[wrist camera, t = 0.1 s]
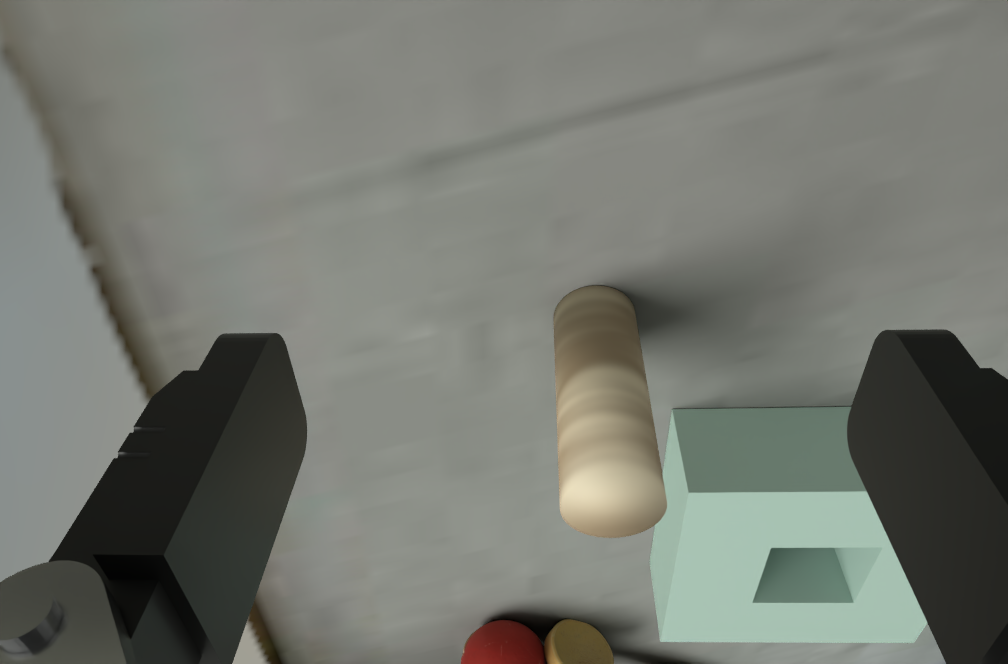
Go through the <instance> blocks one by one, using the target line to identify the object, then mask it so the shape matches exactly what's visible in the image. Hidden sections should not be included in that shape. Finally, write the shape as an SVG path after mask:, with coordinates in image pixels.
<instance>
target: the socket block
mask: <svg viewBox="0 0 1008 664" xmlns="http://www.w3.org/2000/svg"><path fill="white" fill-rule="evenodd" d="M850 410H851V407H799V408H728V409H672V413H671V420H670V427H669V434H668V441H667V448H666V454H665V461H664V468H663V481H664V487H665V493H666V499H667V509H666V512H665V514H664V516H663V517H662V519H661V520H660V521H659V522H658V523H657V524H655V530H654V537H653V543H652V550H651V557H650V569H651V577H652V584H653V591H654V599H655V606H656V613H657V621H658V628H659V635H660V642H814V643H914V642H915V640H916V639H917V637H918V636H919V634H920V633H921V631H922V630H923V629H924V627H925V626H926V624H927V621H926V618H925V616H924V614H923V612H922V610H921V608H920V605H919V603H918V601H917V599H916V597H915V595H914V593H913V590H912V588H911V586H910V584H909V582H908V580H907V577H906V575H905V573H904V571H903V569H902V567H901V564H900V562H899V560H898V558H897V556H896V554H895V552H894V549H893V547H892V545H891V543H890V541H889V539H888V536H887V534H886V532H885V530H884V528H883V526H882V523H881V521H880V519H879V517H878V515H877V513H876V511H875V508H874V506H873V504H872V502H871V500H870V498H869V495H868V493H867V491H866V489H865V487H864V485H863V482H862V480H861V478H860V476H859V474H858V472H857V469H856V467H855V465H854V463H853V461H852V458H851V455H850V452H849V447H848V441H847V422H848V416H849V413H850Z"/></svg>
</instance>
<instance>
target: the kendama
mask: <svg viewBox="0 0 1008 664" xmlns="http://www.w3.org/2000/svg"><path fill="white" fill-rule="evenodd" d="M461 664H614V658H613V654H612V651H611V648H610V646H609V644H608V643H607V641H606V639H605V638H604V637H603V635H602V634H601V633H600V632H599V631H598V630H596V629H595V628H594V627H593V626H591V625H589V624H587V623H584V622H579V621H576V620H572V619H564V620H562V621H560V622H559V623H557V624H556V625H555V626H554V628H553V629H552V630H551V631H550V632H549V633H548V635H547V637H546V639H545V643H544V646H543V644H542V642H541V641H540V639H539V638H538V637H537V635H536V634H535V633H534V632H533V631H532V630H531V629H529V628H528V627H526V626H525V625H523V624H521V623H518V622H515V621H510V620H498V621H493V622H490V623H488V624H485V625H483V626H482V627H480V628H479V629H478V630H476V631H475V632H474V633H472V634H471V636H470V637H469V638H468V640H467V641H466V643H465V646H464V648H463V655H462V658H461Z"/></svg>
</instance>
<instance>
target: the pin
mask: <svg viewBox="0 0 1008 664" xmlns="http://www.w3.org/2000/svg"><path fill="white" fill-rule="evenodd" d="M554 347H555V376H556V406H557V435H558V465H559V494H560V512H561V515H562V517H563V519H564V520H565V522H566V523H567V524H568V525H570V526H571V527H572V528H574V529H575V530H577V531H579V532H582V533H584V534H587V535H591V536H596V537H604V538H617V537H625V536H631V535H634V534H638V533H640V532H643V531H645V530H647V529H649V528H651V527H653V526H654V525H655V524H657V523H658V522H659V521H660V520H661V519H662V517H663V516H664V514H665V512H666V509H667V499H666V493H665V487H664V481H663V475H662V469H661V463H660V457H659V451H658V445H657V439H656V433H655V427H654V422H653V416H652V410H651V404H650V398H649V392H648V386H647V380H646V374H645V368H644V362H643V356H642V350H641V344H640V338H639V332H638V327H637V321H636V315H635V309H634V306H633V304H632V302H631V301H630V299H629V298H628V297H627V296H626V295H625V294H623V293H622V292H620V291H618V290H616V289H614V288H611V287H607V286H587V287H583V288H579V289H577V290H574V291H572V292H571V293H569V294H568V295H566V296H565V297H564V298H563V299H562V300H561V301H560V302H559V303H558V305H557V307H556V309H555V312H554Z"/></svg>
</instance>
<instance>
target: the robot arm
mask: <svg viewBox="0 0 1008 664" xmlns="http://www.w3.org/2000/svg"><path fill="white" fill-rule="evenodd" d="M306 441H307V421H306V415H305V411H304V407H303V404H302V400H301V396H300V393H299V389H298V386H297V382H296V379H295V375H294V372H293V368H292V365H291V361H290V358H289V354H288V351H287V347H286V344H285V342H284V340H283V338H282V337H281V335H279V334H277V333H234V334H222V335H220V336H219V337H218V338H217V339H216V341H215V342H214V344H213V346H212V348H211V349H210V351H209V353H208V355H207V356H206V358H205V360H204V362H203V363H202V365H201V367H200V369H199V370H198V371H183V372H181V373H180V374H179V375H178V376H177V377H175V378H174V379H173V380H172V381H171V382H169V383H168V384H167V385H166V386H165V387H163V388H162V389H161V390H160V391H159V392H157V393H156V394H155V395H154V396H153V397H152V398H151V400H150V401H149V403H148V405H147V406H146V408H145V409H144V411H143V413H142V414H141V416H140V417H139V419H138V421H137V422H136V424H135V426H134V432H133V433H129V435H128V437H127V438H126V440H125V441H124V443H123V445H122V446H121V448H120V450H119V451H118V458H114V459H113V460H112V462H111V464H110V465H109V467H108V468H107V470H106V472H105V473H104V475H103V476H102V478H101V480H100V481H99V483H98V485H97V486H96V488H95V489H94V491H93V493H92V494H91V496H90V497H89V499H88V500H87V502H86V504H85V505H84V507H83V509H82V510H81V512H80V513H79V515H78V516H77V518H76V520H75V521H74V523H73V524H72V526H71V528H70V529H69V531H68V532H67V534H66V536H65V537H64V539H63V540H62V542H61V544H60V545H59V547H58V549H57V550H56V552H55V553H54V555H53V556H52V557H51V559H50V560H49V562H46V563H42V564H38V565H35V566H32V567H29V568H27V569H24V570H22V571H20V572H17V573H16V574H14V575H12V576H10V577H8V578H6V579H4V580H3V581H2V582H0V664H232V663H233V660H234V657H235V654H236V651H237V648H238V645H239V642H240V639H241V636H242V633H243V631H244V628H245V625H246V622H247V619H248V616H249V614H250V611H251V608H252V605H253V602H254V599H255V596H256V593H257V590H258V588H259V585H260V582H261V579H262V576H263V573H264V570H265V567H266V564H267V562H268V559H269V556H270V553H271V550H272V547H273V544H274V541H275V538H276V536H277V533H278V530H279V527H280V524H281V521H282V518H283V515H284V512H285V510H286V507H287V504H288V501H289V498H290V495H291V492H292V489H293V486H294V484H295V481H296V478H297V475H298V472H299V469H300V466H301V463H302V460H303V457H304V454H305V449H306ZM847 441H848V447H849V452H850V455H851V458H852V461H853V463H854V465H855V467H856V469H857V472H858V474H859V476H860V478H861V480H862V482H863V485H864V487H865V489H866V491H867V493H868V495H869V498H870V500H871V502H872V504H873V506H874V508H875V511H876V513H877V515H878V517H879V519H880V521H881V523H882V526H883V528H884V530H885V532H886V534H887V536H888V539H889V541H890V543H891V545H892V547H893V549H894V552H895V554H896V556H897V558H898V560H899V562H900V564H901V567H902V569H903V571H904V573H905V575H906V577H907V580H908V582H909V584H910V586H911V588H912V590H913V593H914V595H915V597H916V599H917V601H918V603H919V605H920V608H921V610H922V612H923V614H924V616H925V618H926V621H927V623H928V625H929V627H930V629H931V631H932V634H933V636H934V638H935V640H936V642H937V644H938V647H939V649H940V651H941V653H942V655H943V657H944V659H945V662H946V664H1008V379H1006V378H1005V377H1003V376H1002V375H1000V374H999V373H998V372H996V371H995V370H993V369H992V368H979V366H978V365H977V364H976V362H975V361H974V360H973V358H972V357H971V356H970V354H969V353H968V352H967V350H966V349H965V348H964V346H963V345H962V344H961V342H960V341H959V340H958V338H957V337H956V336H955V335H954V334H953V333H951V332H950V331H948V330H885V331H882V332H881V333H880V334H879V335H878V336H877V338H876V339H875V341H874V344H873V346H872V349H871V352H870V355H869V358H868V361H867V364H866V367H865V369H864V372H863V375H862V378H861V381H860V384H859V387H858V390H857V392H856V395H855V398H854V401H853V404H852V407H851V410H850V413H849V416H848V422H847Z"/></svg>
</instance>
